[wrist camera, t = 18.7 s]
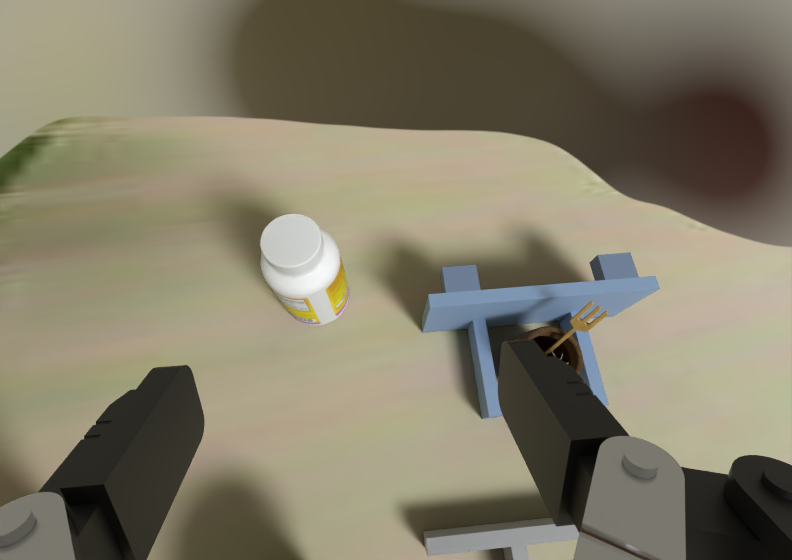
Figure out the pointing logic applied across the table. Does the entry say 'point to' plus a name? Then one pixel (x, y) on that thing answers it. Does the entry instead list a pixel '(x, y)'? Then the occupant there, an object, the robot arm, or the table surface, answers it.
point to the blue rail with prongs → (531, 313)
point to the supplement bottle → (304, 269)
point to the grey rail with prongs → (498, 537)
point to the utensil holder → (564, 338)
